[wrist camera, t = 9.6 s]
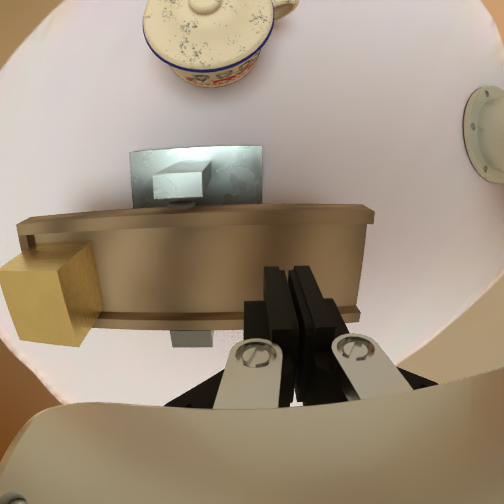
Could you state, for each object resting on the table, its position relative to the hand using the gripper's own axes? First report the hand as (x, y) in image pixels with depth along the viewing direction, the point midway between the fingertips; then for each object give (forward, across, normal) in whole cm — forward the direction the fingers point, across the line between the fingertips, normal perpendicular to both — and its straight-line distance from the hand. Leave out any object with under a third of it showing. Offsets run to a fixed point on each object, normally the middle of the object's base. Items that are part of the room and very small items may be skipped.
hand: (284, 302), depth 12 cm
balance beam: (+11, +6, +2) cm, 13 cm away
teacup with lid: (+20, +3, -15) cm, 25 cm away
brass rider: (+8, +14, +3) cm, 16 cm away
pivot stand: (+19, +6, +3) cm, 20 cm away
